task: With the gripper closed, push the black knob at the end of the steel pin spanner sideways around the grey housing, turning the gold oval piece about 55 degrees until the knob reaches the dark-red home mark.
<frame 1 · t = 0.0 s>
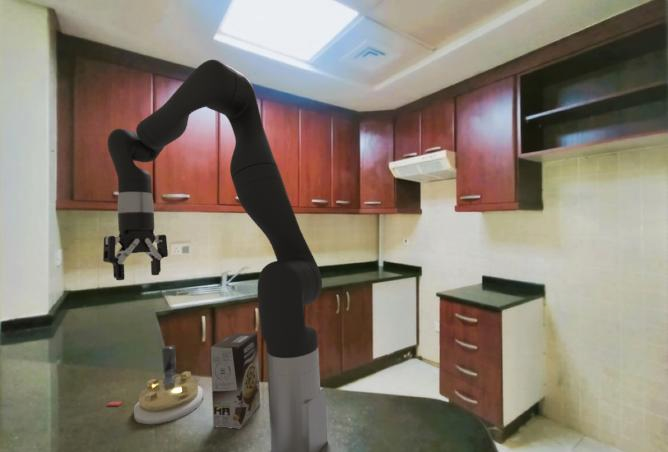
hand: (138, 277, 76), 29 cm above the worktop, tool pointing down, fingers open, 8 cm apart
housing: (170, 405, 71), on the worktop
coffee box: (238, 416, 66), on the worktop
gold oval piece: (169, 373, 74), point 6 cm above the worktop, hinge at 0.0°
home mark: (115, 404, 73), on the worktop
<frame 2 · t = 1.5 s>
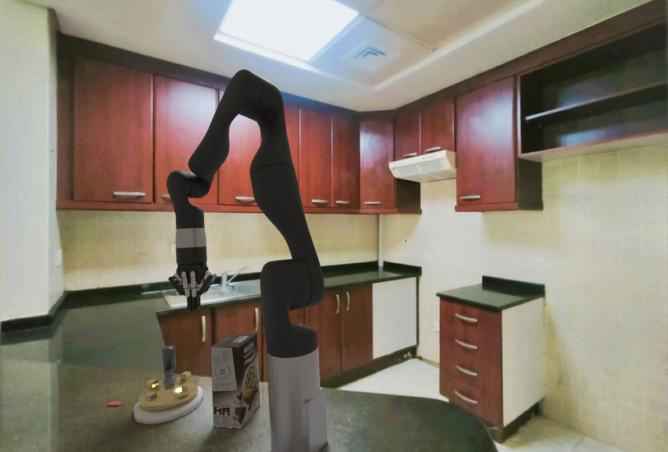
hand: (194, 310, 83), 19 cm above the worktop, tool pointing down, fingers closed
nothing on the worktop moved.
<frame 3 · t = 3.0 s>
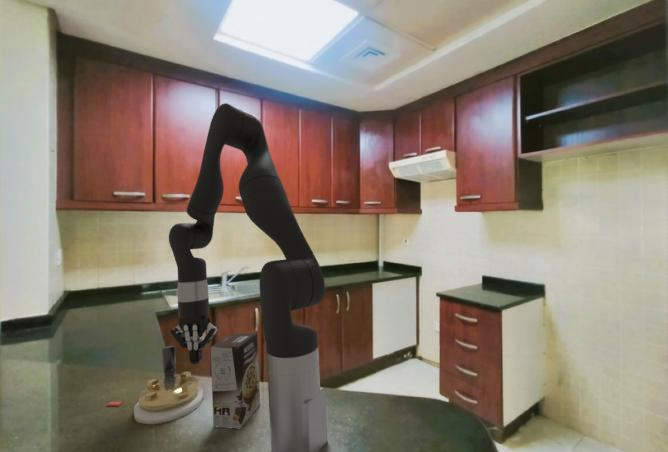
hand: (196, 362, 82), 5 cm above the worktop, tool pointing down, fingers closed
nothing on the worktop moved.
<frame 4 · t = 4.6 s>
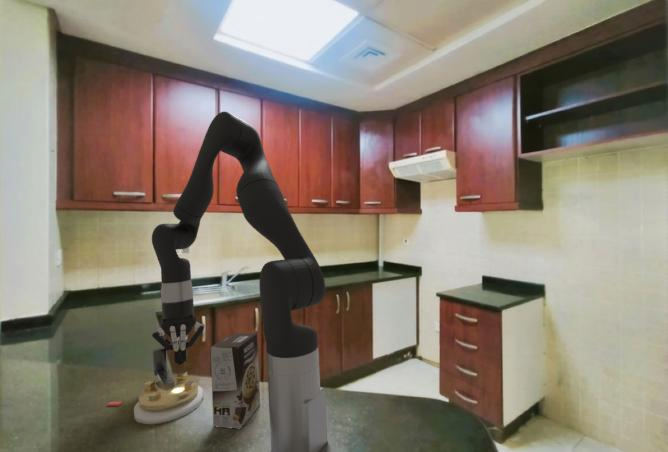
hand: (181, 363, 82), 5 cm above the worktop, tool pointing down, fingers closed
gold oval piece: (166, 374, 74), point 6 cm above the worktop, hinge at 10.9°, touching hand
everything else where it was.
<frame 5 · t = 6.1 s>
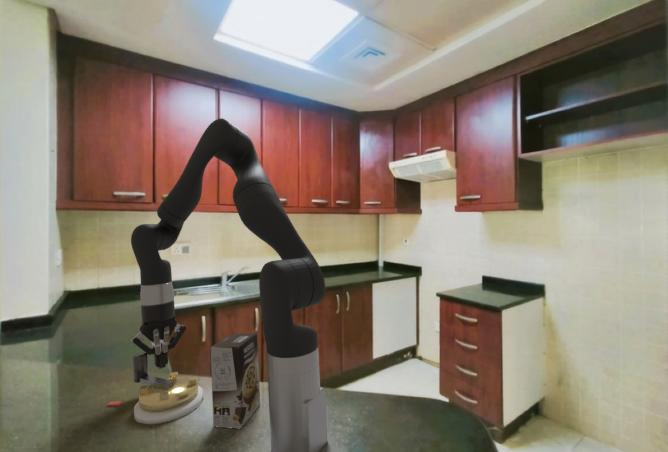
hand: (161, 367, 80), 5 cm above the worktop, tool pointing down, fingers closed
gold oval piece: (160, 376, 73), point 6 cm above the worktop, hinge at 34.4°, touching hand
everything else where it was.
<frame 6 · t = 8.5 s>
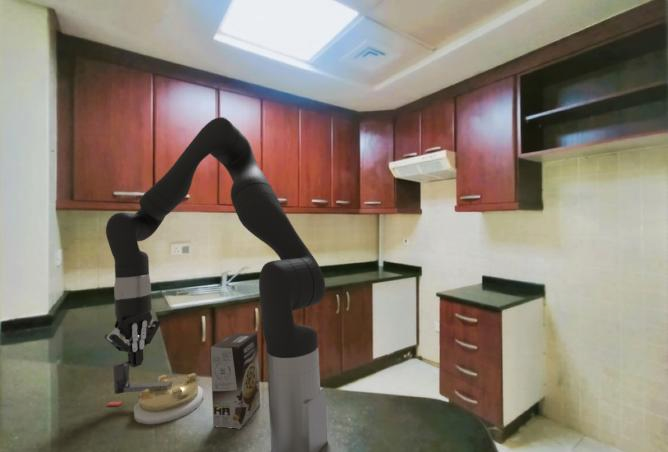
hand: (135, 365, 75), 8 cm above the worktop, tool pointing down, fingers closed
gold oval piece: (155, 379, 71), point 6 cm above the worktop, hinge at 61.6°
everything else where it was.
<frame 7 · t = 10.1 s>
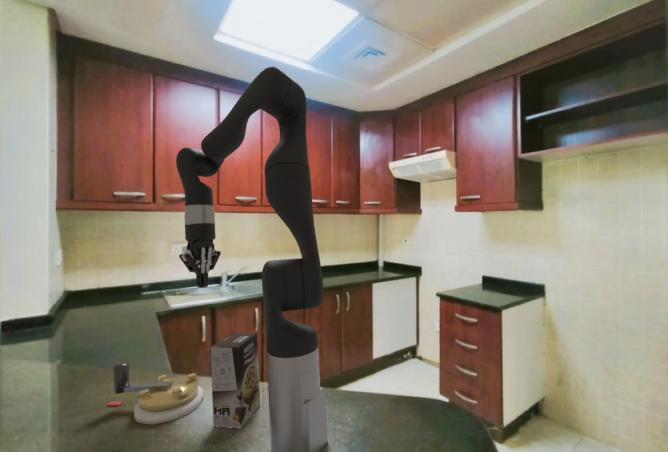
hand: (202, 287, 83), 25 cm above the worktop, tool pointing down, fingers closed
nothing on the worktop moved.
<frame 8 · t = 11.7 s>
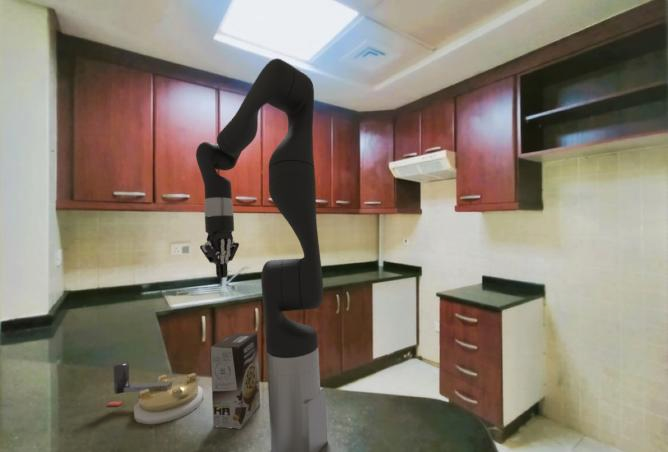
hand: (222, 277, 86), 27 cm above the worktop, tool pointing down, fingers closed
nothing on the worktop moved.
at the end: gold oval piece at +62° (first picture: +0°); coffee box moved 0.2 cm from its start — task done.
